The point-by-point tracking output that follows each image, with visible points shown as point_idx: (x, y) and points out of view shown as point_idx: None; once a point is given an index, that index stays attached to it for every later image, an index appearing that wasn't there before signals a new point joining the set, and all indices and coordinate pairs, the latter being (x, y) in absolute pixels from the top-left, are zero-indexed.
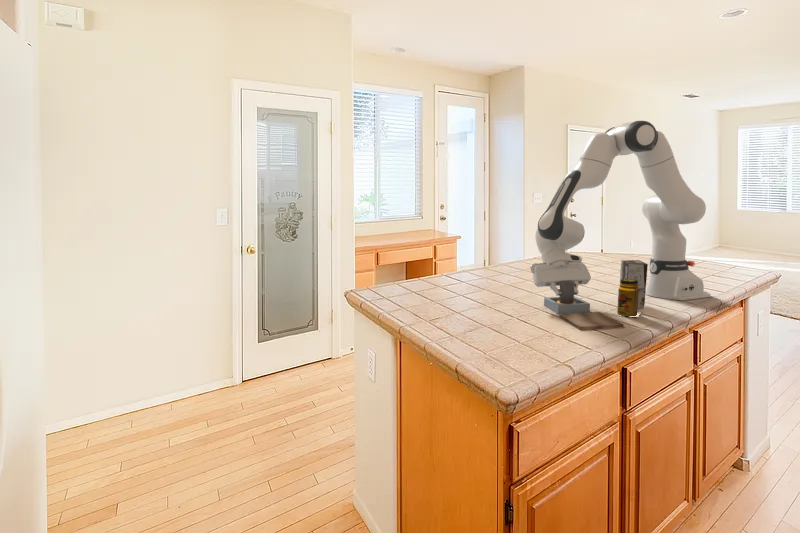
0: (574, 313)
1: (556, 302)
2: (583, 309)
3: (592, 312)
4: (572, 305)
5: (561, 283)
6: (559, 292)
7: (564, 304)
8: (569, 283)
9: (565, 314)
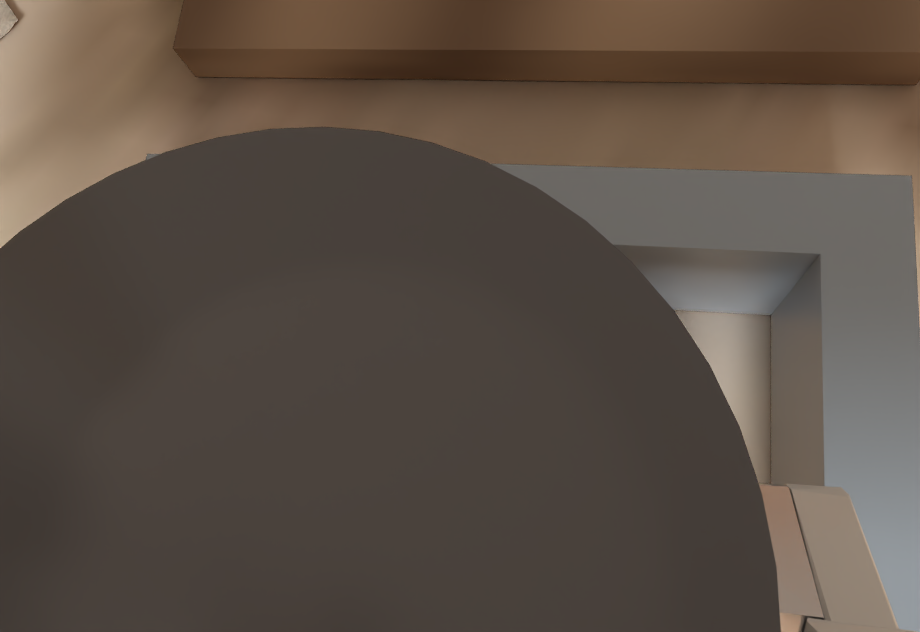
0: (622, 37)
1: (828, 454)
2: None
3: (290, 34)
4: (545, 172)
5: (739, 537)
6: (773, 497)
7: (713, 228)
8: (394, 162)
9: (823, 9)
